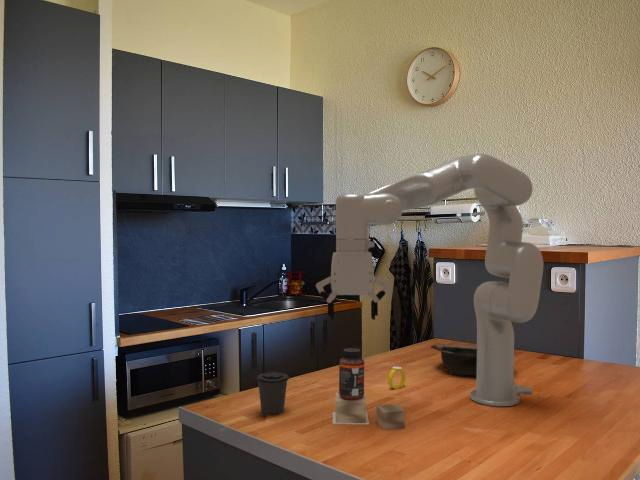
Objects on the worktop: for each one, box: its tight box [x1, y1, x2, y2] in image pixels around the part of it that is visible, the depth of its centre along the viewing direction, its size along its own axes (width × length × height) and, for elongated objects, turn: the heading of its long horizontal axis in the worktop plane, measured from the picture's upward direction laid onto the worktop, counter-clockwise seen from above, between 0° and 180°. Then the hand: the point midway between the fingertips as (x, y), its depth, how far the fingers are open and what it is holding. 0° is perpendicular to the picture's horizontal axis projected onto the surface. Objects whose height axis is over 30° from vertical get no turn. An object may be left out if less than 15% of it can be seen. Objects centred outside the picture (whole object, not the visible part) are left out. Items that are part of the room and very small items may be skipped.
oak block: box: [375, 403, 406, 431], centre depth 130 cm, size 5×5×4 cm
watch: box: [387, 366, 406, 390], centre depth 163 cm, size 6×3×6 cm, turn 130°
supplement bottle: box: [338, 347, 365, 400], centre depth 135 cm, size 6×6×11 cm
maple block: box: [335, 391, 367, 423], centre depth 135 cm, size 7×7×5 cm
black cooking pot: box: [430, 344, 477, 377], centre depth 183 cm, size 25×25×9 cm
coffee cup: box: [256, 371, 290, 418], centre depth 140 cm, size 8×8×10 cm
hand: (352, 318), depth 135 cm, fingers open, 9 cm apart
